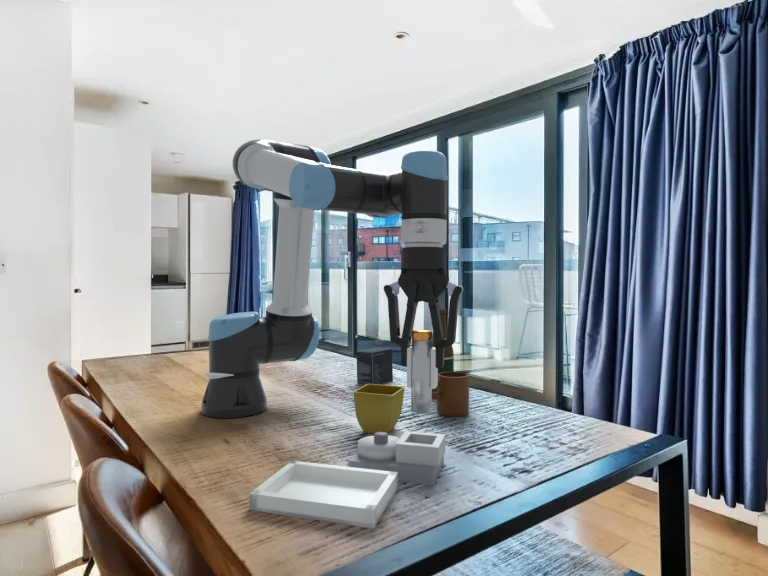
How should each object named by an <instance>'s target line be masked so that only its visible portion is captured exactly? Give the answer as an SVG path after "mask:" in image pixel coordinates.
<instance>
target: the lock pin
mask: <svg viewBox="0 0 768 576" xmlns="http://www.w3.org/2000/svg"><path fill="white" fill-rule="evenodd" d="M432 335H433V330H430V329H429V330H428V329H413V331H412V338H411V346H412V384H411V387H410V388H411V390H410V391H411V392H410V393H411V396H410V397H411V399H410V401H411V402H410V407H411V408H410V409H411V410H410V412H412V413H414V414H418V415H419V414H420V415H425V414H426V415H427V414H430V413H432V410H433V409H432V406H433V404H432V401H433V399H432V389H430V379H431V349H432Z"/></svg>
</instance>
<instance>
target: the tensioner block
mask: <svg viewBox="0 0 768 576" xmlns="http://www.w3.org/2000/svg"><path fill="white" fill-rule="evenodd" d="M445 454H446V434H445V433H443V434H442V433H431V432H421V431H408V430H405V431H404V432H403V434H402V435H401V436H400V437H399V436H395V435H394V436H393V435H389V433H385V432H377V433H373V435H368V436H364V437H361V438H360V439H359V440H357V452H355V454H354V455H353V456H352V457H351V458H350V459H349V460H348V467H355V468H364V469H373V470H382V471H392V472H398V482H403V483H411V484H419V485H428V486H434V485H435V484H436V483H435V482H436V481H437V479H438V477H439V474H440V472H441V469H442V468H443V466H444V463H445V462H444V461H445V459H444V457H445V456H444V455H445Z"/></svg>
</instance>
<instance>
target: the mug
mask: <svg viewBox="0 0 768 576" xmlns="http://www.w3.org/2000/svg"><path fill="white" fill-rule="evenodd" d="M469 377H470V376H469V373H466V372H463V371H462V372H460V371H454V372H442V373H438V385H437V392H432V400H436V411H437V413H438V414H439V415H440V416H443V417H448V418H460V417H461V418H462V417H465V416H467V415H468V414H469V412H470V410H469V409H470V401H469V400H470V379H469Z"/></svg>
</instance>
